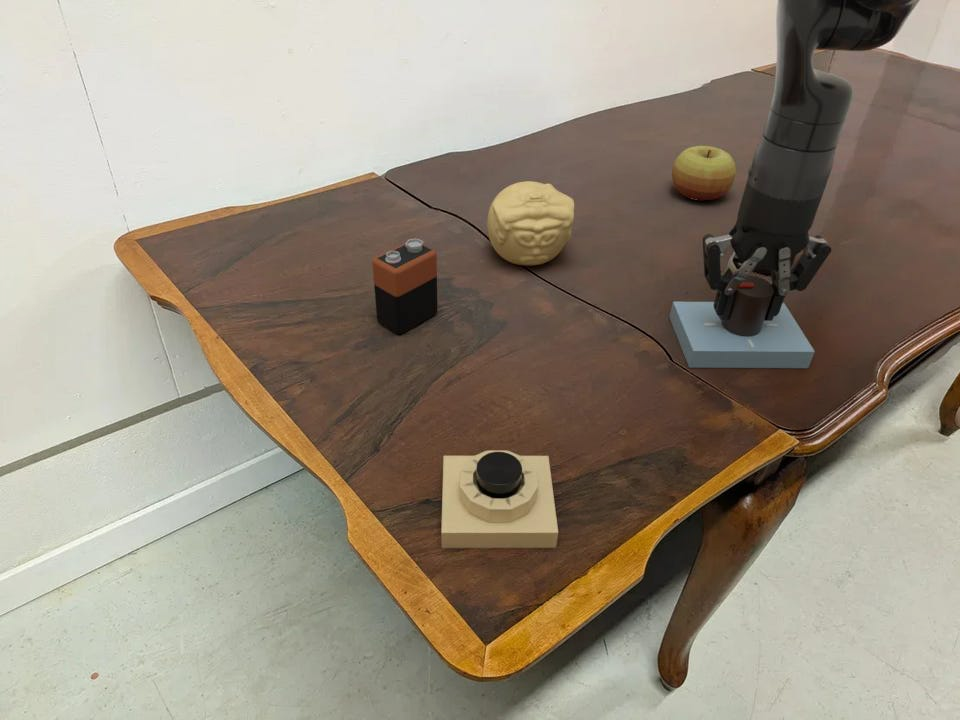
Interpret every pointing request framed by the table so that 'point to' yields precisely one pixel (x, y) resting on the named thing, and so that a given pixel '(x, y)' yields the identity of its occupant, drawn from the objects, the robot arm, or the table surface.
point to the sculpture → (530, 222)
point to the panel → (738, 340)
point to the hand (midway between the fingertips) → (744, 316)
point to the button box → (498, 507)
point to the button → (498, 474)
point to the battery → (405, 285)
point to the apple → (703, 172)
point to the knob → (749, 307)
